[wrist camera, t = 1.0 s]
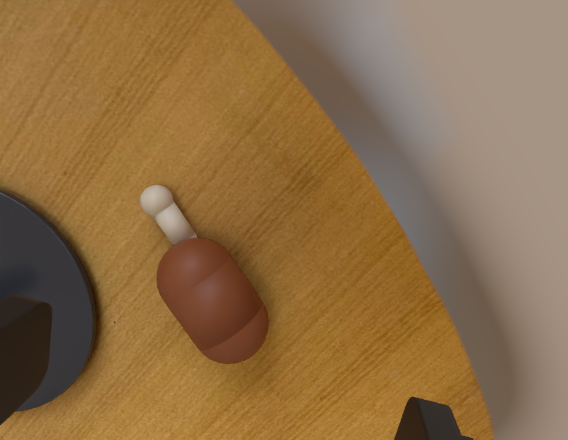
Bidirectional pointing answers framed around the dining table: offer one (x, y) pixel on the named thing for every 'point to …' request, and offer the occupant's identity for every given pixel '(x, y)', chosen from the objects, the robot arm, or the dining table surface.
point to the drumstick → (205, 287)
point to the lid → (47, 291)
